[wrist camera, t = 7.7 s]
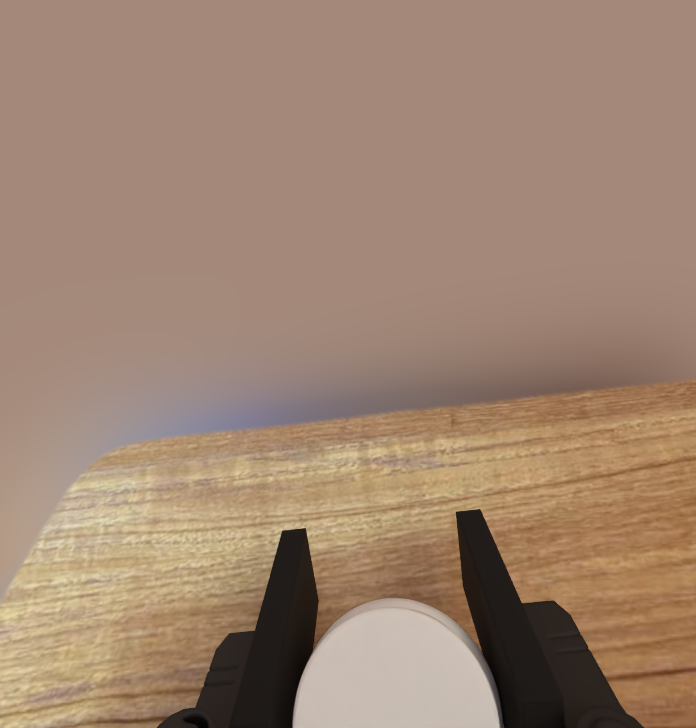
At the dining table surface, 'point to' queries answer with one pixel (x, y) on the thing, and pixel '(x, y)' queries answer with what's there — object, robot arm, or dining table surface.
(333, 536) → the dining table surface
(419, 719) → the pill bottle
